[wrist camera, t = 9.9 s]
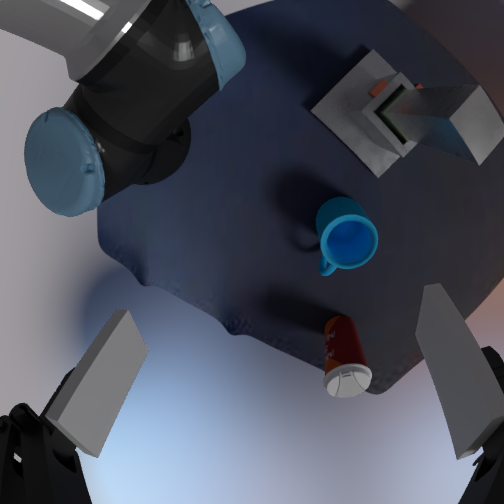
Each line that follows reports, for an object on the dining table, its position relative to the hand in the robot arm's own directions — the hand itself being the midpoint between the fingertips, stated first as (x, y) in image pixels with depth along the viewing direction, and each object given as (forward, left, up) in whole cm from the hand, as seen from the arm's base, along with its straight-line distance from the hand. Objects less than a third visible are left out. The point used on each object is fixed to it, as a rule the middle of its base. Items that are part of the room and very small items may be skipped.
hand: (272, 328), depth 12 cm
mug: (+13, -2, -35) cm, 37 cm away
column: (+4, +16, -27) cm, 32 cm away
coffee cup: (+29, -15, -35) cm, 48 cm away
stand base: (+4, +16, -35) cm, 38 cm away
